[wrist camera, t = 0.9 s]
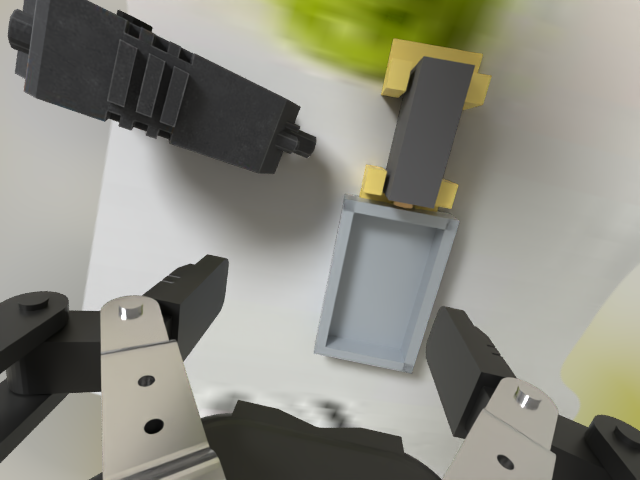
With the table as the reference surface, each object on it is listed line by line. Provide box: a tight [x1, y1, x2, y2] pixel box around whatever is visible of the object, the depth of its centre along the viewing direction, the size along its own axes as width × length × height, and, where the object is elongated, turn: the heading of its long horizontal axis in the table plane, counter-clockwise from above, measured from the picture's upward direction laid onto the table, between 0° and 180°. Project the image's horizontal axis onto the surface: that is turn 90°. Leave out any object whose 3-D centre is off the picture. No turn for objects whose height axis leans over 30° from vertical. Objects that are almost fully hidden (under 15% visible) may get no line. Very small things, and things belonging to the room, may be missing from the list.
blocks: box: [359, 38, 492, 212], centre depth 27 cm, size 14×7×4 cm, turn 170°
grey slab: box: [382, 56, 475, 209], centre depth 26 cm, size 11×4×6 cm, turn 170°
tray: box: [314, 194, 460, 374], centre depth 32 cm, size 16×10×3 cm, turn 170°
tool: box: [8, 0, 316, 174], centre depth 25 cm, size 6×19×15 cm
